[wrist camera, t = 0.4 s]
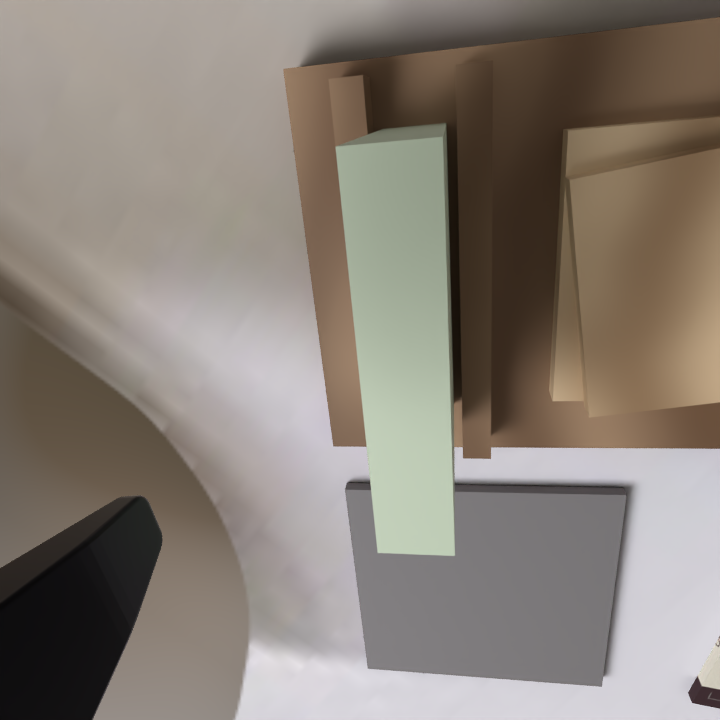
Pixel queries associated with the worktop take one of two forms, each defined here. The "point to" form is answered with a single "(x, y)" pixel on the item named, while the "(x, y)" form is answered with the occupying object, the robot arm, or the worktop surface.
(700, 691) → the chocolate bar
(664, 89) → the walnut rack
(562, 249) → the offcut stack
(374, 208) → the green board
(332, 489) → the worktop surface
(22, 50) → the worktop surface
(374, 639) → the rubber mat
